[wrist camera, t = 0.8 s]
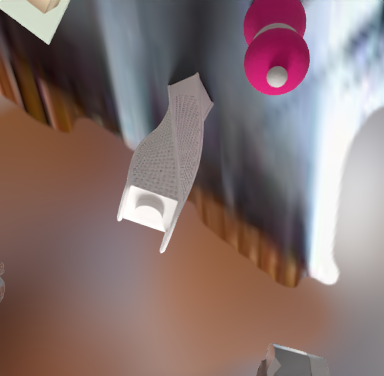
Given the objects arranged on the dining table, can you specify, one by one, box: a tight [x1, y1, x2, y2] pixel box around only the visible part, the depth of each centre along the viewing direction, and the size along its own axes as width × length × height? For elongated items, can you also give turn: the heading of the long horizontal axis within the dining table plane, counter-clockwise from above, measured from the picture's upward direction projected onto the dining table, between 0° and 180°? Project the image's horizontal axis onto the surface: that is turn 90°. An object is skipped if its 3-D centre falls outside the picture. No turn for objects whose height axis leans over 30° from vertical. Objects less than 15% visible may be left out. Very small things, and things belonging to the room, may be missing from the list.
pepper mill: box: [244, 0, 310, 95], centre depth 37 cm, size 7×7×20 cm
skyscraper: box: [117, 72, 213, 253], centre depth 43 cm, size 8×8×28 cm
